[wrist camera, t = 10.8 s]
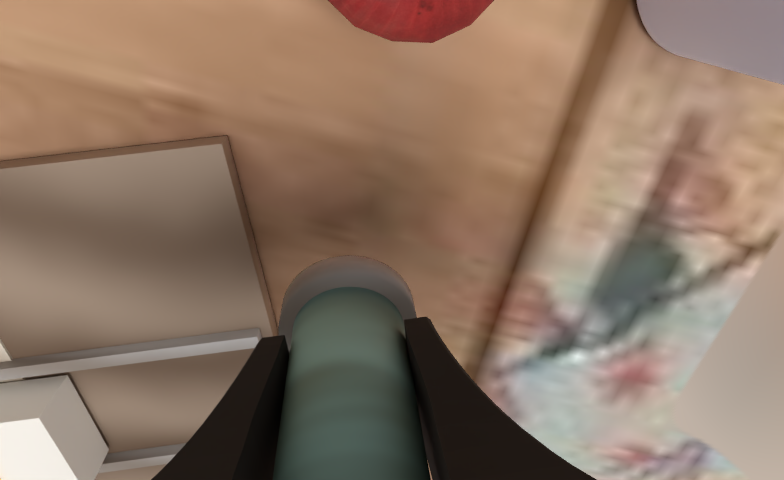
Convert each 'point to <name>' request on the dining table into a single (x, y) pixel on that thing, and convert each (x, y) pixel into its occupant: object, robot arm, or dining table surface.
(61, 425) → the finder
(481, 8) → the red rounded piece
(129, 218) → the board
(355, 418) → the teal round cylinder
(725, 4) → the spray bottle
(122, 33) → the dining table surface
